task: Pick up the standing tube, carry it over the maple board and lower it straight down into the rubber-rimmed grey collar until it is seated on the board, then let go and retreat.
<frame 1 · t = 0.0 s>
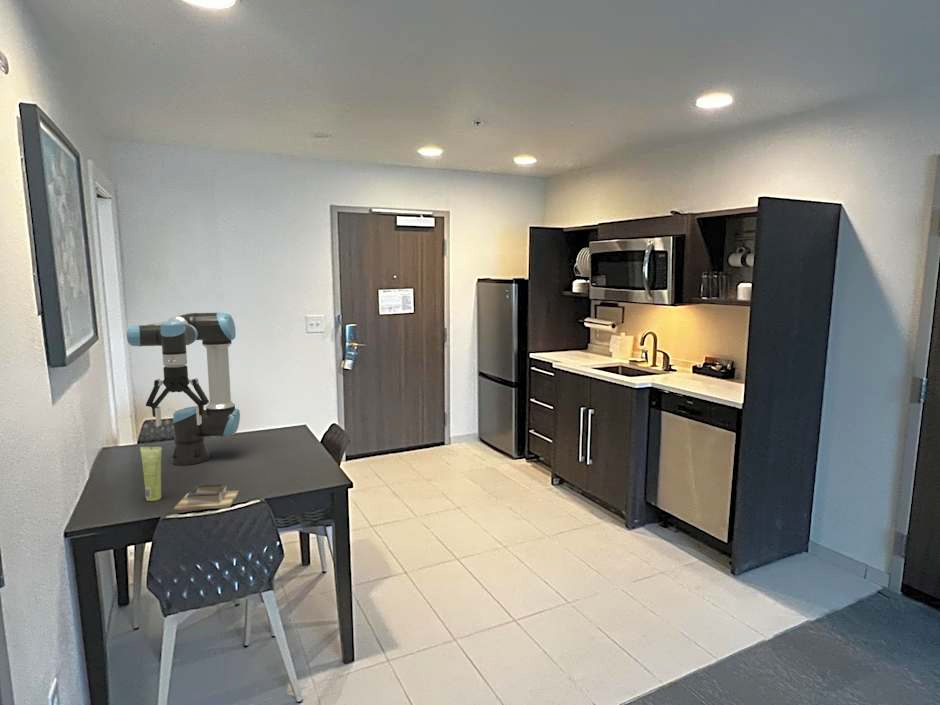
hand: (179, 425, 205), 28 cm above the table, fingers open, 13 cm apart
tube: (154, 499, 210), on the table
collar board: (208, 501, 208), on the table
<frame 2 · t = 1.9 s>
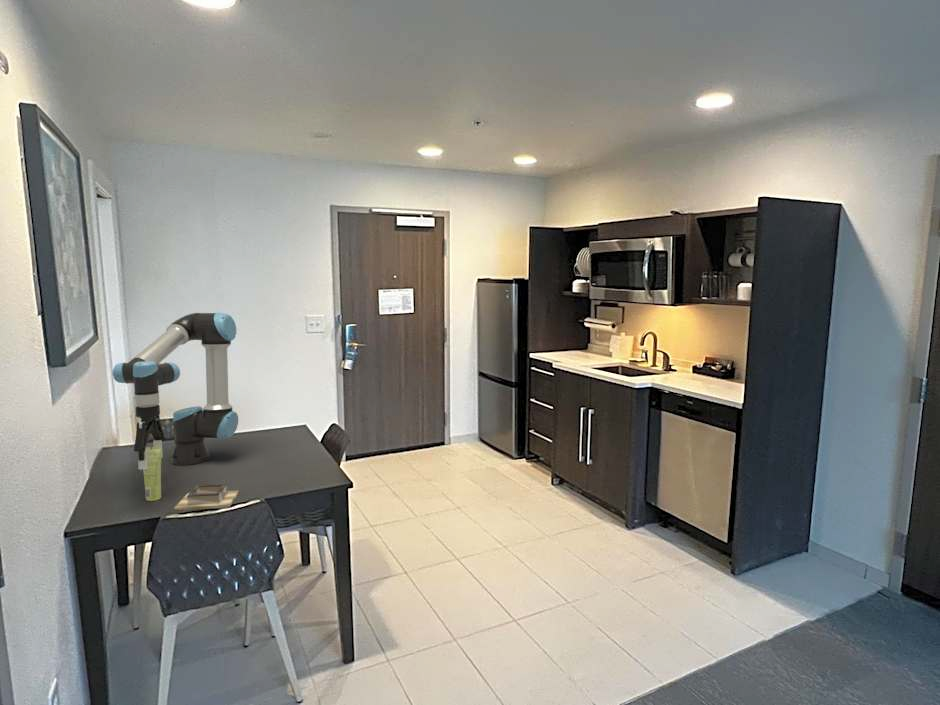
hand: (151, 463, 208), 14 cm above the table, fingers open, 13 cm apart
nothing on the table moved.
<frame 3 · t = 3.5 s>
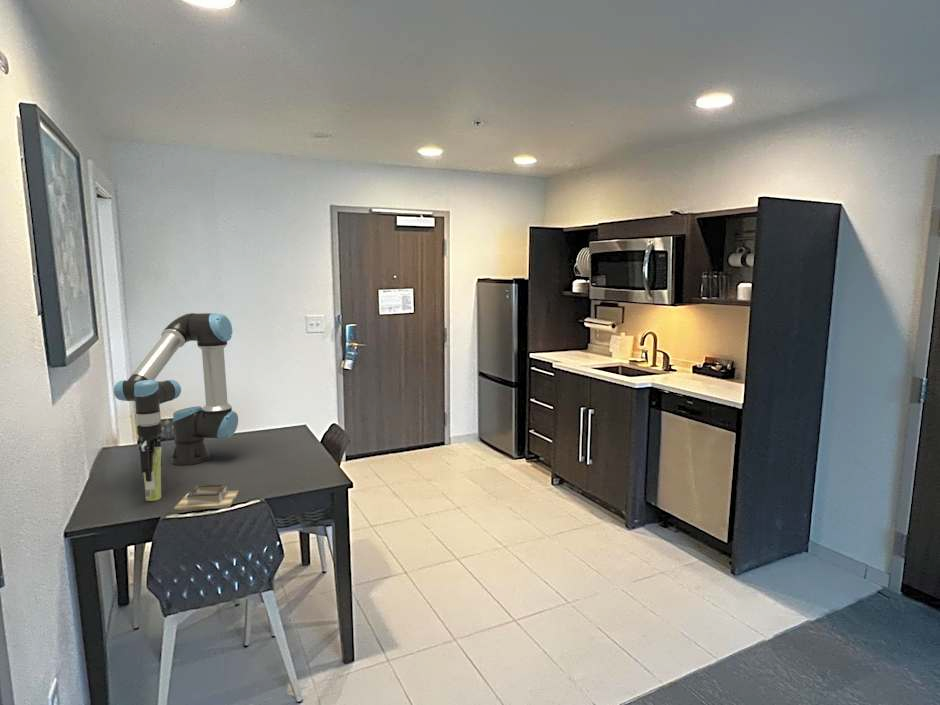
hand: (153, 486, 210), 5 cm above the table, fingers closed on tube, 5 cm apart
tube: (154, 499, 210), on the table, touching gripper
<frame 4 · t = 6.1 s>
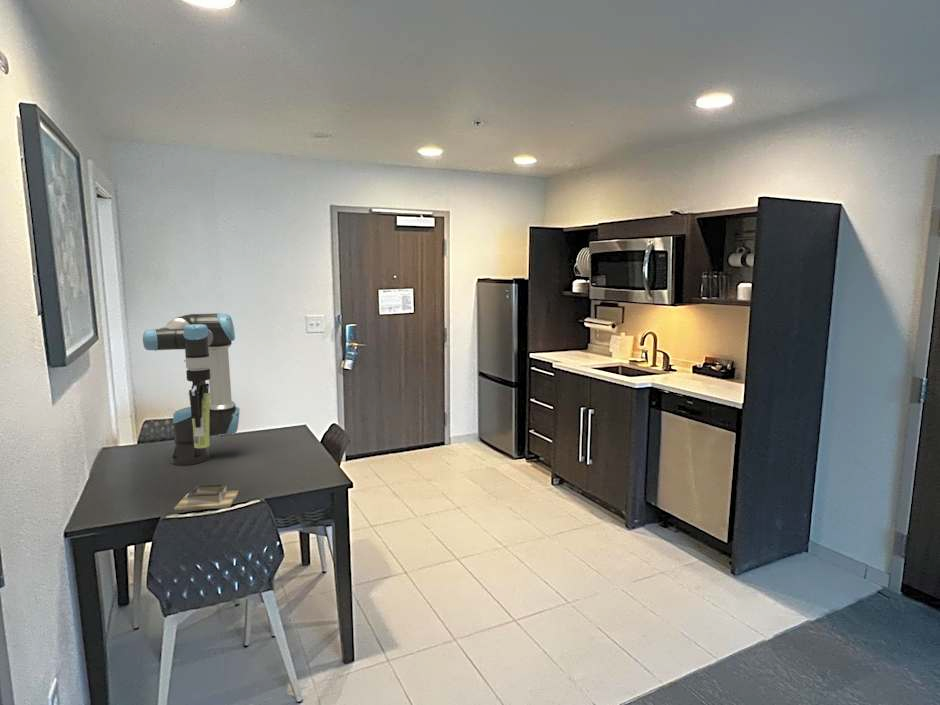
hand: (202, 433, 205), 25 cm above the table, fingers closed on tube, 5 cm apart
tube: (202, 447, 205), point 20 cm above the table, touching gripper
when the fingers open (8 cm above the table, at t = 8.8 s): tube drops 2 cm, resting on collar board.
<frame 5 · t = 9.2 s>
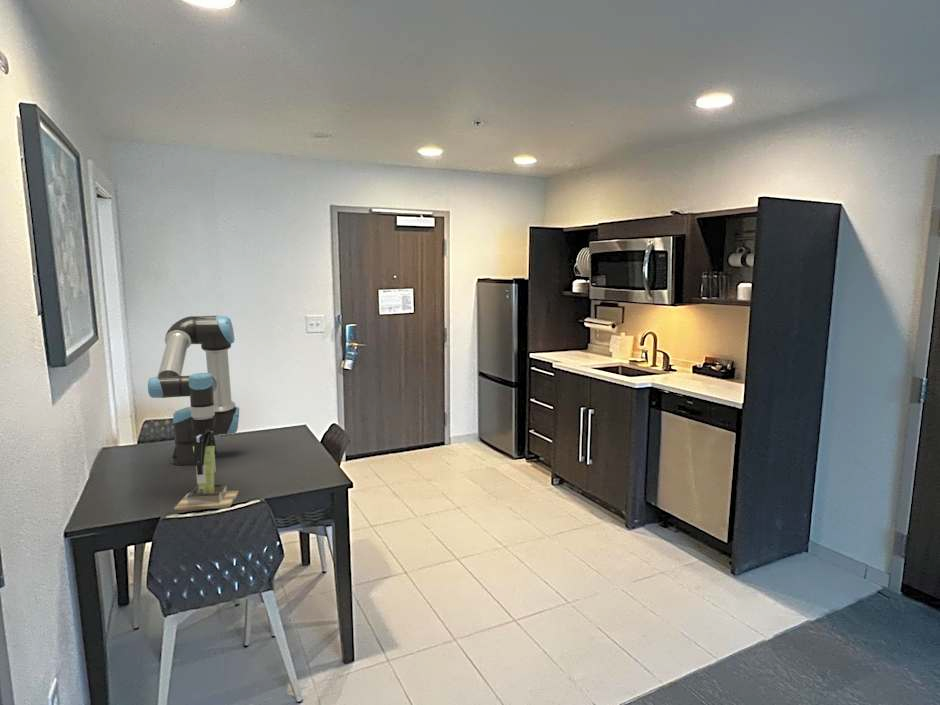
hand: (206, 477, 207), 9 cm above the table, fingers open, 11 cm apart
tube: (207, 499, 208), point 1 cm above the table, touching collar board
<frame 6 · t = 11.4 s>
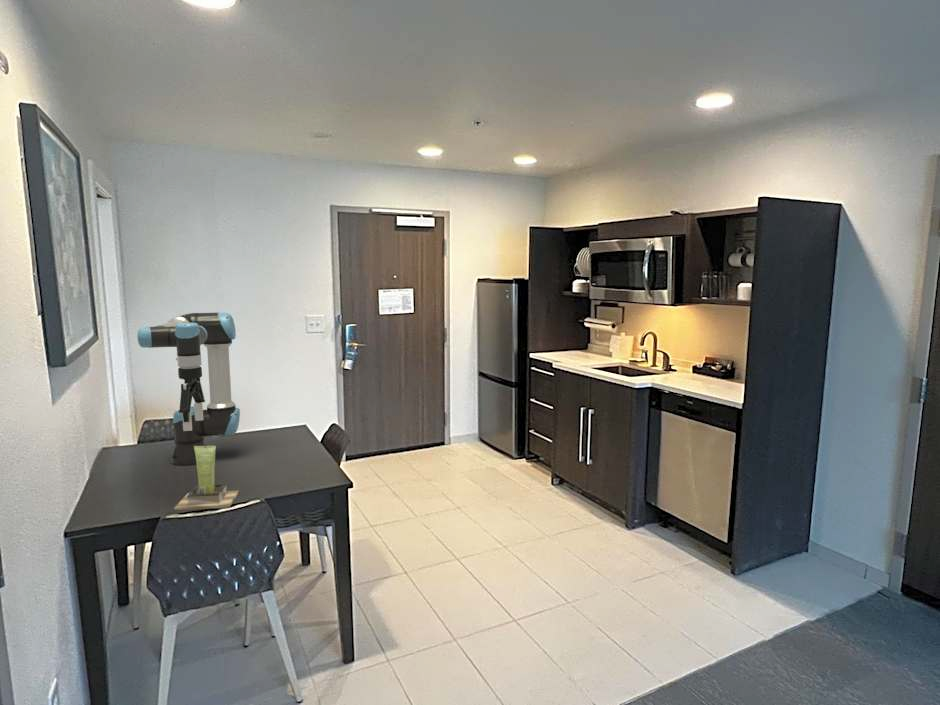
hand: (193, 425, 208), 27 cm above the table, fingers open, 13 cm apart
nothing on the table moved.
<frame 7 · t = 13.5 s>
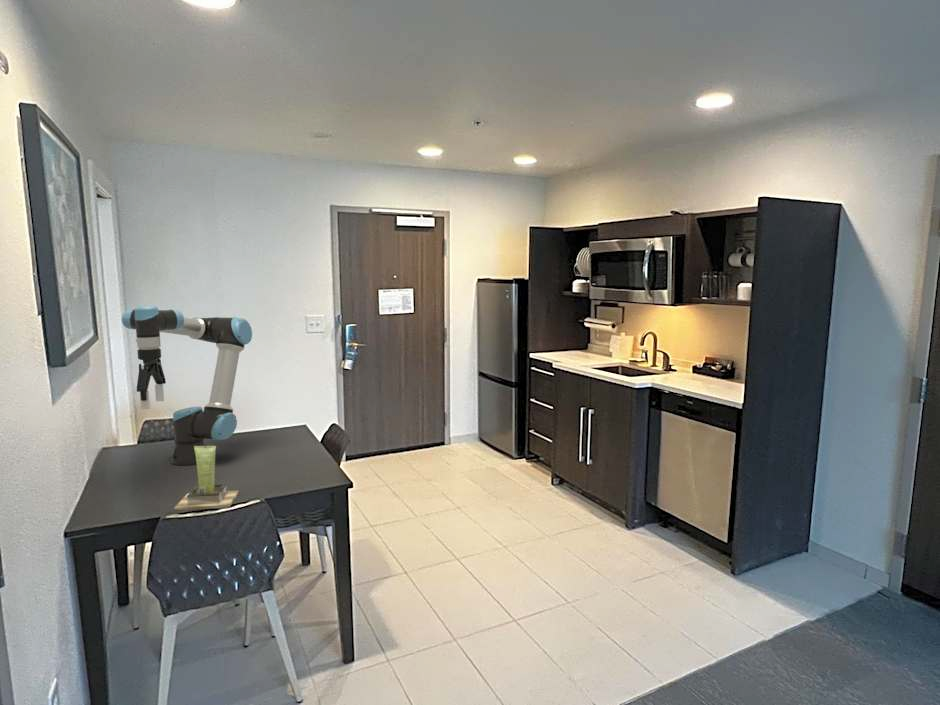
hand: (153, 405, 216), 33 cm above the table, fingers open, 13 cm apart
nothing on the table moved.
at the end: tube 0.0 cm off-centre on the collar board, point 0.8 cm above the collar board's base; tube tilted 0°; the gripper is holding nothing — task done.
